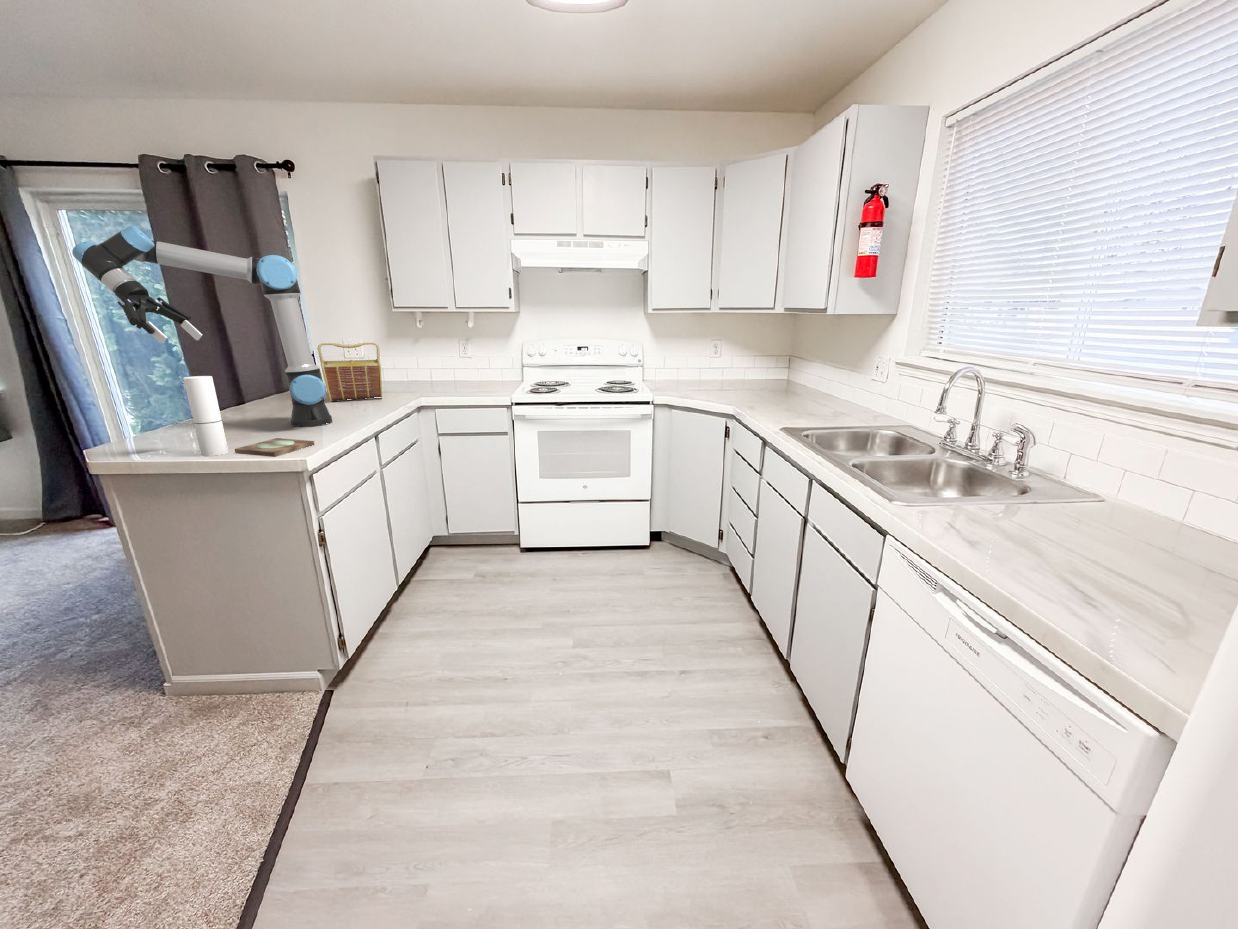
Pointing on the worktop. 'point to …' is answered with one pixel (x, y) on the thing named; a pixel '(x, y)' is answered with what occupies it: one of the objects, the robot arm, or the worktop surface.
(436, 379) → the worktop surface
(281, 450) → the board
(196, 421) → the cylindrical container
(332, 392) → the picnic basket
